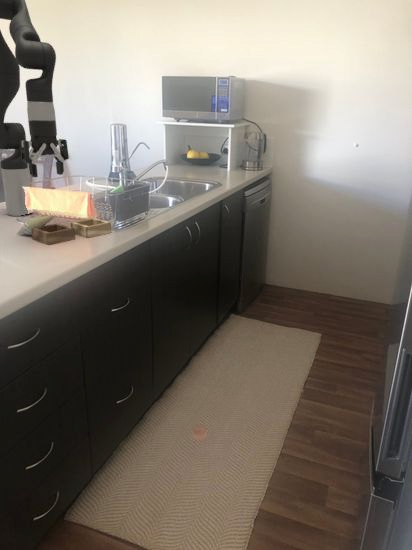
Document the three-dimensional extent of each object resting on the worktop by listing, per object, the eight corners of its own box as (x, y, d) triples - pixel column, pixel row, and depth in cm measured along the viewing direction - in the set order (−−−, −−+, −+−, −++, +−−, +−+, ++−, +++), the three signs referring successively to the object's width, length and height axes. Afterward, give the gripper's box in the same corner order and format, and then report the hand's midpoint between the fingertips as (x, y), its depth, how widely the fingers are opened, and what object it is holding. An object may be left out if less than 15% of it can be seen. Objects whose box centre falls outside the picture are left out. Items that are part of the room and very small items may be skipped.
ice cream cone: (60, 225, 139) (23, 242, 143) (57, 211, 140) (20, 228, 144) (51, 220, 134) (12, 238, 138) (47, 206, 136) (9, 224, 139)
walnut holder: (32, 239, 136) (31, 228, 135) (58, 233, 143) (57, 223, 142) (49, 244, 131) (48, 233, 130) (75, 238, 138) (74, 228, 137)
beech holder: (71, 232, 145) (70, 222, 144) (94, 227, 152) (93, 218, 150) (88, 237, 139) (87, 227, 138) (111, 232, 146) (110, 222, 145)
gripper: (56, 118, 132) (60, 172, 138) (11, 118, 121) (18, 176, 127) (70, 119, 127) (74, 175, 133) (25, 119, 117) (32, 179, 123)
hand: (47, 175), depth 130 cm, fingers open, 8 cm apart
